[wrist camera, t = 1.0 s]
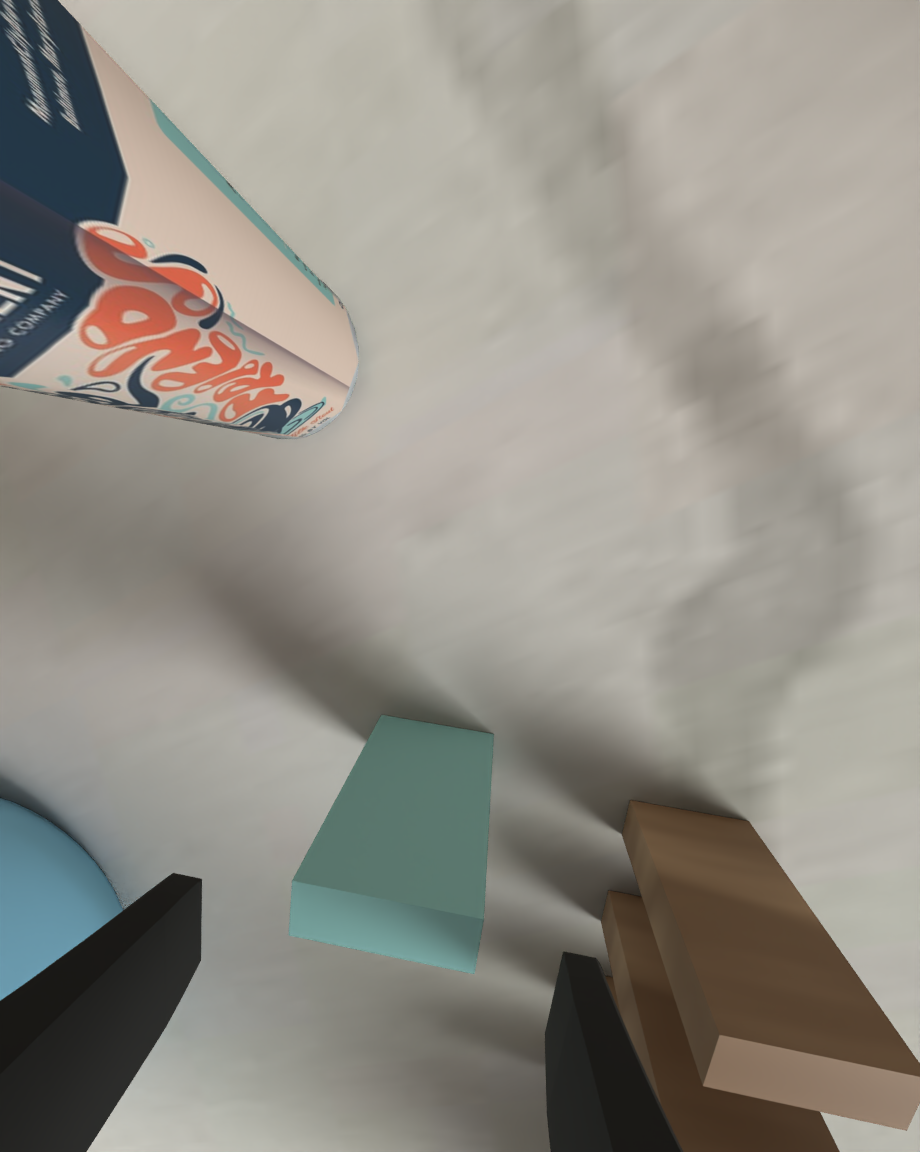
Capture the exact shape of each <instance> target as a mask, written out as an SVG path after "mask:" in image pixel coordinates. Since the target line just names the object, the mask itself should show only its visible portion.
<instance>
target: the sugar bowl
mask: <svg viewBox="0 0 920 1152" xmlns="http://www.w3.org/2000/svg"><path fill="white" fill-rule="evenodd" d="M122 911H123V909H122V907H121V904H120V902H119V900H118V898H117V895H116V893H115V891H114V889H113V888H112V886H111V884H110V883H109V881H108V879H107V877H106V876H105V875H104V873H103V872H102V870H101V869H100V868H99V866H98V865H97V864H96V862H95V861H94V860H93V859H92V858H91V857H90V856H89V855H88V853H87V852H86V851H85V850H84V849H83V848H82V847H81V846H80V845H79V844H78V843H77V842H75V841H74V840H73V839H72V838H71V837H70V836H69V835H68V834H66V833H65V832H64V831H62V830H61V829H60V828H58V827H57V826H55V825H54V824H53V823H51V822H50V821H49V820H47V819H45V818H43V817H42V816H40V815H38V814H37V813H35V812H33V811H31V810H29V809H27V808H25V807H23V806H21V805H18V804H16V803H14V802H12V801H8V800H5V799H2V798H0V1000H2V999H3V998H5V997H6V996H7V995H9V994H10V993H12V992H13V991H15V990H16V989H18V988H19V987H20V986H22V985H23V984H25V983H26V982H27V981H29V980H30V979H32V978H33V977H34V976H36V975H37V974H38V973H40V972H41V971H43V970H44V969H45V968H47V967H48V966H49V965H51V964H52V963H53V962H55V961H56V960H58V959H59V958H60V957H62V956H63V955H64V954H66V953H67V952H68V951H70V950H71V949H73V948H74V947H75V946H77V945H78V944H79V943H81V942H82V941H83V940H85V939H86V938H87V937H89V936H90V935H91V934H93V933H94V932H95V931H97V930H98V929H99V928H101V927H102V926H103V925H105V924H106V923H107V922H109V921H110V920H111V919H113V918H114V917H115V916H117V915H118V914H119V913H121V912H122Z"/></svg>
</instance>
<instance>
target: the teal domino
mask: <svg viewBox="0 0 920 1152" xmlns="http://www.w3.org/2000/svg"><path fill="white" fill-rule="evenodd" d="M493 739H494V734H491V733H485V732H479V731H473V730H467V729H461V728H456V727H450V726H444V725H438V724H432V723H427V722H421V721H415V720H409V719H403V718H398V717H392V716H386V715H381V717H380V718H379V720H378V722H377V724H376V726H375V728H374V730H373V731H372V733H371V735H370V737H369V739H368V741H367V743H366V744H365V746H364V748H363V750H362V752H361V754H360V756H359V757H358V759H357V761H356V763H355V765H354V767H353V769H352V770H351V772H350V774H349V776H348V778H347V780H346V782H345V784H344V785H343V787H342V789H341V791H340V793H339V795H338V797H337V798H336V800H335V802H334V804H333V806H332V808H331V810H330V811H329V813H328V815H327V817H326V819H325V821H324V823H323V824H322V826H321V828H320V830H319V832H318V834H317V836H316V837H315V839H314V841H313V843H312V845H311V847H310V849H309V850H308V852H307V854H306V856H305V858H304V860H303V862H302V863H301V865H300V867H299V869H298V871H297V873H296V875H295V876H294V878H293V880H292V891H291V907H290V923H289V936H294V937H299V938H304V939H308V940H313V941H318V942H323V943H328V944H332V945H337V946H342V947H347V948H351V949H356V950H361V951H366V952H371V953H375V954H380V955H385V956H390V957H394V958H399V959H404V960H409V961H414V962H418V963H423V964H428V965H433V966H437V967H442V968H447V969H452V970H457V971H461V972H466V973H471V974H475V968H476V962H477V956H478V950H479V944H480V939H481V933H482V927H483V921H484V907H485V888H486V870H487V851H488V832H489V814H490V795H491V776H492V758H493Z"/></svg>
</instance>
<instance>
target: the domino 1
mask: <svg viewBox="0 0 920 1152" xmlns="http://www.w3.org/2000/svg"><path fill="white" fill-rule="evenodd" d="M622 836H623V840H624V843H625V846H626V849H627V852H628V855H629V858H630V861H631V864H632V867H633V871H634V874H635V877H636V880H637V883H638V886H639V889H640V892H641V895H642V899H643V902H644V905H645V908H646V911H647V914H648V917H649V920H650V923H651V927H652V930H653V933H654V936H655V939H656V942H657V945H658V948H659V951H660V954H661V958H662V961H663V964H664V967H665V970H666V973H667V976H668V979H669V982H670V986H671V989H672V992H673V995H674V998H675V1001H676V1004H677V1007H678V1010H679V1014H680V1017H681V1020H682V1023H683V1026H684V1029H685V1032H686V1035H687V1038H688V1041H689V1045H690V1048H691V1051H692V1054H693V1057H694V1060H695V1063H696V1066H697V1069H698V1073H699V1076H700V1079H701V1082H702V1085H703V1086H705V1087H710V1088H714V1089H719V1090H723V1091H728V1092H732V1093H737V1094H742V1095H746V1096H751V1097H755V1098H760V1099H764V1100H769V1101H774V1102H778V1103H783V1104H787V1105H792V1106H796V1107H801V1108H806V1109H810V1110H815V1111H819V1112H824V1113H828V1114H833V1115H838V1116H842V1117H847V1118H851V1119H856V1120H860V1121H865V1122H870V1123H874V1124H879V1125H883V1126H888V1127H892V1128H897V1129H902V1130H906V1131H907V1129H908V1127H909V1125H910V1123H911V1120H912V1118H913V1116H914V1114H915V1112H916V1110H917V1108H918V1106H919V1103H920V1063H919V1062H918V1060H917V1059H916V1058H915V1056H914V1055H913V1053H912V1052H911V1050H910V1049H909V1048H908V1046H907V1045H906V1043H905V1042H904V1041H903V1039H902V1038H901V1036H900V1035H899V1033H898V1032H897V1031H896V1029H895V1028H894V1026H893V1025H892V1024H891V1022H890V1021H889V1019H888V1018H887V1016H886V1015H885V1014H884V1012H883V1011H882V1009H881V1008H880V1006H879V1005H878V1004H877V1002H876V1001H875V999H874V998H873V997H872V995H871V994H870V992H869V991H868V989H867V988H866V987H865V985H864V984H863V982H862V981H861V980H860V978H859V977H858V975H857V974H856V972H855V971H854V970H853V968H852V967H851V965H850V964H849V963H848V961H847V960H846V958H845V957H844V955H843V954H842V953H841V951H840V950H839V948H838V947H837V946H836V944H835V943H834V941H833V940H832V938H831V937H830V936H829V934H828V933H827V931H826V930H825V929H824V927H823V926H822V924H821V923H820V921H819V920H818V919H817V917H816V916H815V914H814V913H813V912H812V910H811V909H810V907H809V906H808V904H807V903H806V902H805V900H804V899H803V897H802V896H801V895H800V893H799V892H798V890H797V889H796V887H795V886H794V885H793V883H792V882H791V880H790V879H789V877H788V876H787V875H786V873H785V872H784V870H783V869H782V868H781V866H780V865H779V863H778V862H777V860H776V859H775V858H774V856H773V855H772V853H771V852H770V851H769V849H768V848H767V846H766V845H765V843H764V842H763V841H762V839H761V838H760V836H759V835H758V834H757V832H756V831H755V829H754V828H753V826H752V825H751V824H750V822H749V821H744V820H739V819H733V818H728V817H722V816H716V815H711V814H705V813H700V812H694V811H688V810H683V809H677V808H672V807H666V806H660V805H655V804H649V803H644V802H638V801H632V800H630V802H629V807H628V811H627V815H626V819H625V823H624V827H623V832H622Z"/></svg>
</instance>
